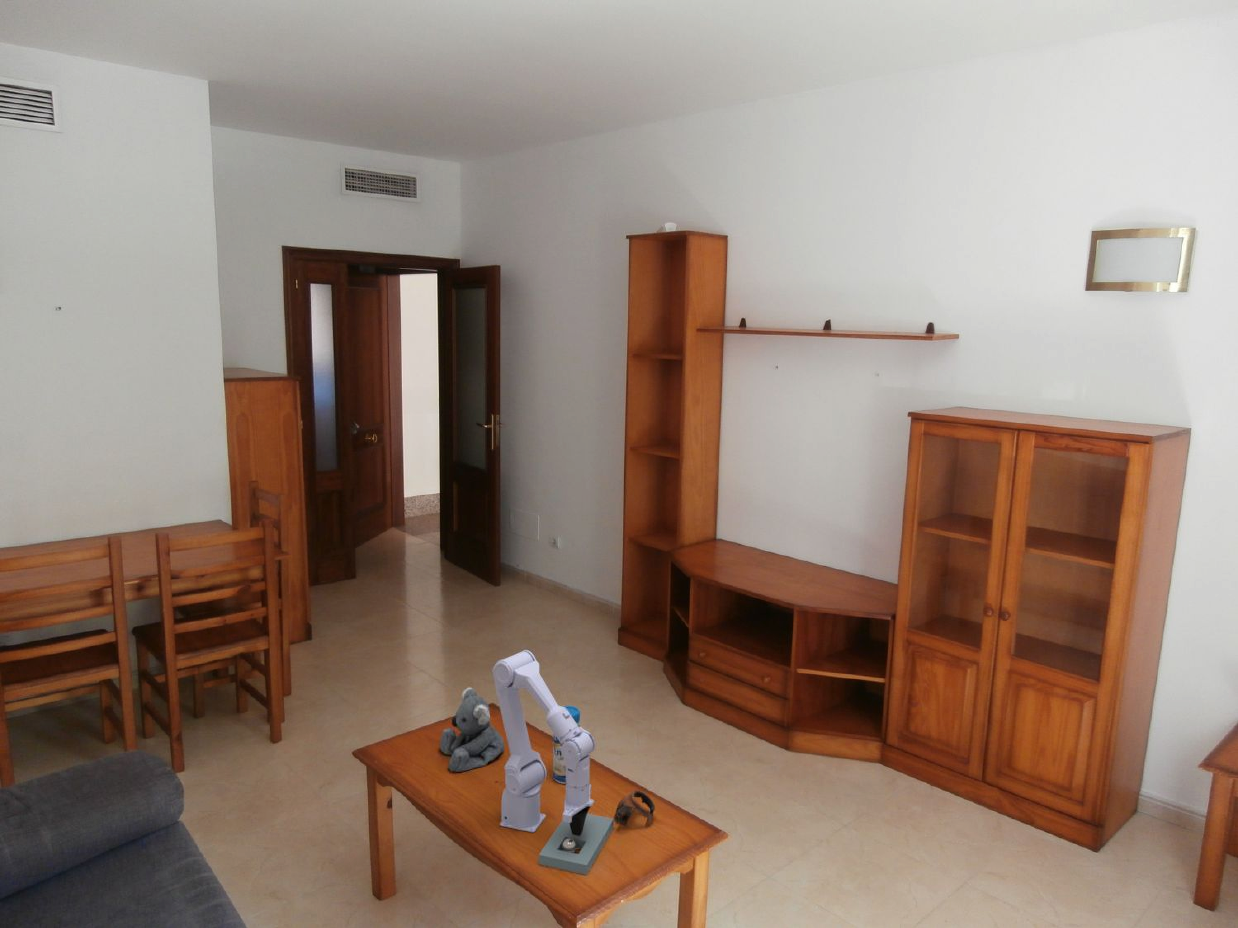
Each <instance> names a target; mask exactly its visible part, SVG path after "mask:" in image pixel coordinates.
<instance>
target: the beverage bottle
mask: <svg viewBox="0 0 1238 928" xmlns="http://www.w3.org/2000/svg"><path fill="white" fill-rule="evenodd" d="M562 707H565V708H566V709H567V710H568V712H569V713H570V715H571V716H572V718H573V719H574V721H575V722H576V723H577V725H578V726H579V727H581V726H580V724H579V723H580V722H581V721H580V719H581V710H580V709H579V708H578V707H576V706H573V705H564V706H562ZM552 736H553V739H552V743H551V744H552V751H553V752H552V758H553V759H552V761H553V762H552V764H553V765H552V778H553V780H554V781H556V782H557V783H559V784H562V785H566V767H565V765H564V757H563V756H562V753H561V747H562V744H561V743H560V741H559V740H558V738H557V737H556V736H555V734H554V733H553V732H552Z"/></svg>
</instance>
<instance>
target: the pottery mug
mask: <svg viewBox="0 0 1238 928" xmlns="http://www.w3.org/2000/svg"><path fill="white" fill-rule="evenodd" d="M636 798H640V799H641V803H644V804H645V805H646V806H647V807H648V808H646V807H644V806H643V805H641V804H640V803H639V802H638V801H637V799H636ZM655 809H656V806H655V804H654V801H653V800H652V799H651V798H650V796H648V795H647V794H646V793H644V792H643V791H640V790H633V791H632V792H631V793H630V794H626V795H625V796H623V797H622V798H621V799H620V801H619V802H618V804H617V807H616V810H615V814H614V817H613V819H614V822H615V823H616V825H618V824H619V825H621V826H624V827H626V826H627V824H628V822H629V820H630V819H631V817H632V816H633V812H634V813H636V814H638V815H639V816H643V817H644V818H647V819H646V822H645V824H644V825H645V827H649V826H650V824H651V823H652V821H653V818H654V812H655Z"/></svg>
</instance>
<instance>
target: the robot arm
mask: <svg viewBox="0 0 1238 928" xmlns="http://www.w3.org/2000/svg"><path fill="white" fill-rule="evenodd" d="M492 667H493V668H491V671H492V675H493V679H494V681H493V682H494V687H495V694H496V696H497V701H498V707H499V710H500V715H501V717H502V718H501V720H502V723H503V727H504V731H505V735H506V741H507V745H508V748H509V749H508V750H509V754H510V755H509V758H508V760H507V762H506V763H505V765H504V767H503V768H504V772H505V776H504V777H505V778H504V782H505V787H504V789H503V791H502V795H501V803H500V804H501V805H500V807H501V808H500V809H501V811H500V812H501V821H500V824H499V826H500V827H501V826H502V827H505V828H510V829H513V830H514V829H515V830H519V831H525V832H529V833H535V832H536V831H537V829H538V828H539V827H540V825H541V824H542V823H543V822H544V820H545V819H546V818H547V817H546V816H547V815H546V814H545V813H541V788H542V787H543V782H544V781H545V780H546V778H547V773H548V772H547V767H546V766H545V764H544V762H543V760H542V757H541V753H540V752H537V751H535V750H534V749H532V746H531V741H530V736H529V731H528V727H527V723H526V719H525V715H524V711H523V706H522V701H521V697H520V694H519V689H522V690H527V691H528V692H529V694H530V695H531V696H532V698H533V699H534V700H535V701H536V702H537V704H538V705H539V706H540V708H541V709H542V710H543V712H545V714H546V719H545V720H546V724H547V725H548V727H549V728H550V730H551V731H552V734H553V733H554V734H555V736H556V737H557V738H558V740H559V741H560V743H561V744H562V747H561V753H562V756H563V757H564V765H565V767H566V784H565V797H564V805H563V806H564V808H563V812H562V820H563V822H567V823H569V824H570V828H571V832H572V835H577V836H580V835H581V834H582V831H583V827H584V823H585V819H586V816H587V814H589V813H588V812H589V811H590V808H591V807H592V806H593V805H594V804H595V800H594V799H592V798H591V793H592V784H590V779H591V778H590V775H591V774H590V773H591V772H590V767H591V765H590V762H591V756H590V754H592V753H593V752H594V750H595V748H596V743H595V739H594V737H593V735H592V734H591V733H590V732H589V731H588V730H586V729H584V728H583V727H582V726H580V725H579V726H580V727H579V726H578V725H577V723H576V722H575V721H574V719H573V718H572V716H571V715H570V713H569V712H568V710H567V709H566V708H565V707H563V706H561V705H559V704H558V703H557V701H556V699H555V698H554V696H553V694H552V693H551V691H550V689H549V687H548V686H547V684H546V682H545V680H544V679H543V677H542V675H541V674H540V663H539V661H537V659H536V657H535V655H534V653H532V651H530V650H527V649H524V650H522V651H520V652H518V653H515V654H513V655H510V656H509V657H508V656H507V657H506V658H503V659H500V660H498V661H496V663H495V665H494V666H492Z"/></svg>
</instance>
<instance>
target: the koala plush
mask: <svg viewBox="0 0 1238 928" xmlns="http://www.w3.org/2000/svg"><path fill="white" fill-rule="evenodd" d="M461 699H462V702H461V704H460V705H459V706H458V709H457V711H456V712H455V715H454V716H453V717H452V719H451V724H452V725H451V726H453V727H454V728H457V730H458V731H460V733H459V734H458V735H457V733H456V731H455V729H453V728H445V729H443V730H442V733H441V737H440V741H439V748H440V751H441V752H442V753H444V755H448V756H451V757H450V760H449V761H448V769H449V770H450V772H452V773H453V772H455V773H460V772H466V771H470V770H473V769H475V768H481V767H485V766H487V765H488V763H489V762H492V761H494V760H495V759H496V758H497V757H498V756H499V755H500V754H502V753H503V752H504V751H505V739H503V737H502V735H501V734H500V733H499V731H498V730H496V729H495V728H494V726H492V725H491V723H490V722H491V712H490V706H489V704H488V702H487V701H486V700H485V699H484V698H483V697H481V696H479V695H478V693H476V690H474V688H472V687H469V686H468V687H467V688H466V689H464V690H463V691H462V694H461Z"/></svg>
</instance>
